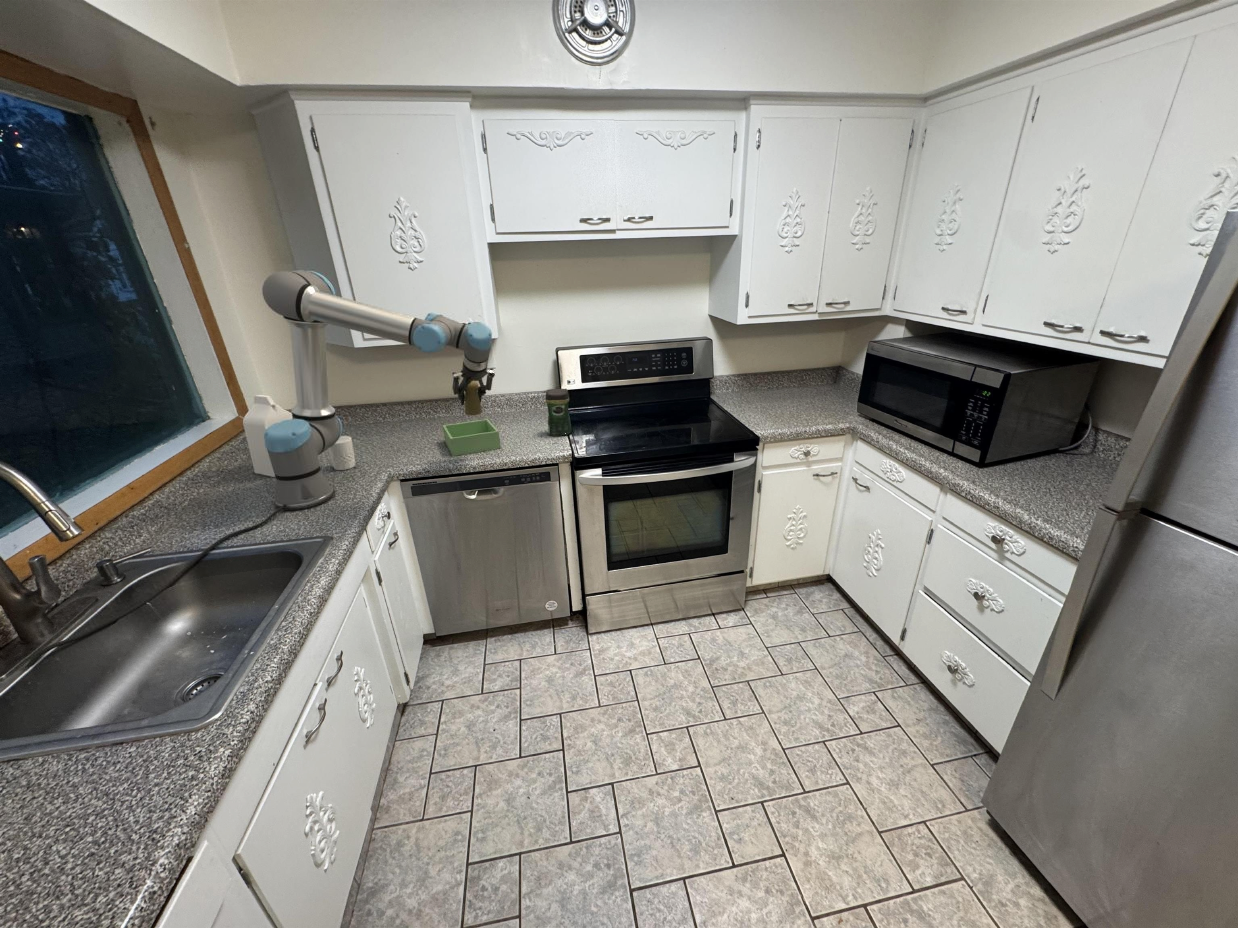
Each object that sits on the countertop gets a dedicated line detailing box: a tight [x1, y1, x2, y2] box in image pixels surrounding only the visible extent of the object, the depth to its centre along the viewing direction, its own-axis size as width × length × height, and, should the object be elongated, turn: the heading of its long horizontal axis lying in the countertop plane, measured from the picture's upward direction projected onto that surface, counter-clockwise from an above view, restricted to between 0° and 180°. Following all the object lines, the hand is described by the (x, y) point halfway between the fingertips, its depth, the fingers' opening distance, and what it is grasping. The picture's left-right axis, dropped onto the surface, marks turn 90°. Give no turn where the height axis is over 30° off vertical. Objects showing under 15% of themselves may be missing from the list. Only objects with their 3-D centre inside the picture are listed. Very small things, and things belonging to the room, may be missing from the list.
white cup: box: [327, 435, 356, 471], centre depth 174 cm, size 8×8×10 cm
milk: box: [242, 394, 292, 478], centre depth 169 cm, size 12×12×26 cm
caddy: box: [442, 418, 501, 457], centre depth 194 cm, size 18×18×7 cm
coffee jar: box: [544, 388, 572, 437], centre depth 203 cm, size 10×8×19 cm
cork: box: [464, 381, 484, 416], centre depth 175 cm, size 6×6×11 cm
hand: (470, 400), depth 178 cm, fingers closed on cork, 5 cm apart
